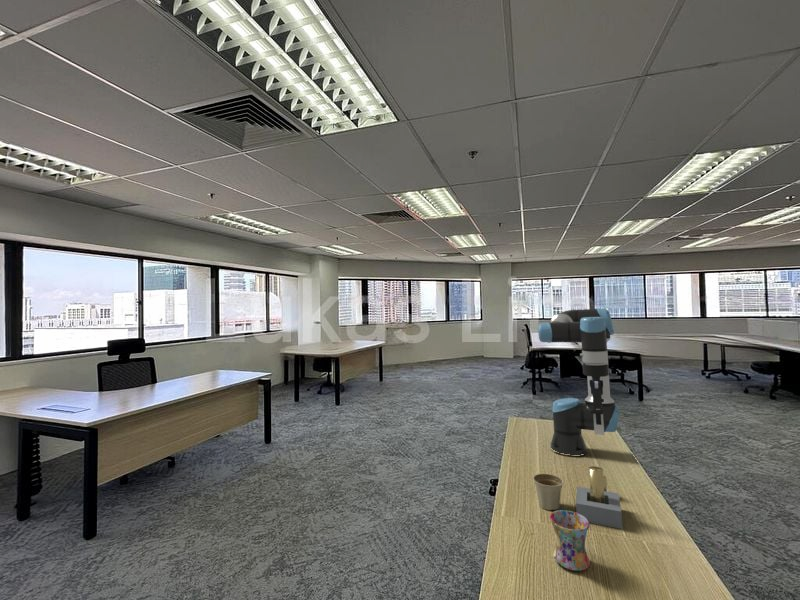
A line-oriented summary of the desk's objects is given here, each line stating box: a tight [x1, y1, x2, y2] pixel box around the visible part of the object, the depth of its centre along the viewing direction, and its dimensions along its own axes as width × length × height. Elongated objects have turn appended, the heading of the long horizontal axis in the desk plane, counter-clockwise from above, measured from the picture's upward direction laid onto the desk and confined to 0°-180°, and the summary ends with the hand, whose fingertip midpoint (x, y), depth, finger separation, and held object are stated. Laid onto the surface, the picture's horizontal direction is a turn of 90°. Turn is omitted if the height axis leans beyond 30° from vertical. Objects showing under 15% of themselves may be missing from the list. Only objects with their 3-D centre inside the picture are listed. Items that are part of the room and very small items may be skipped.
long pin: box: [588, 465, 605, 504], centre depth 114 cm, size 4×4×14 cm
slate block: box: [575, 486, 623, 530], centre depth 114 cm, size 12×12×5 cm
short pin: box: [603, 475, 608, 491], centre depth 126 cm, size 4×4×6 cm
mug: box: [549, 509, 591, 572], centre depth 94 cm, size 12×9×11 cm
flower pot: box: [532, 473, 564, 511], centre depth 120 cm, size 9×9×9 cm
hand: (599, 427), depth 120 cm, fingers open, 13 cm apart
